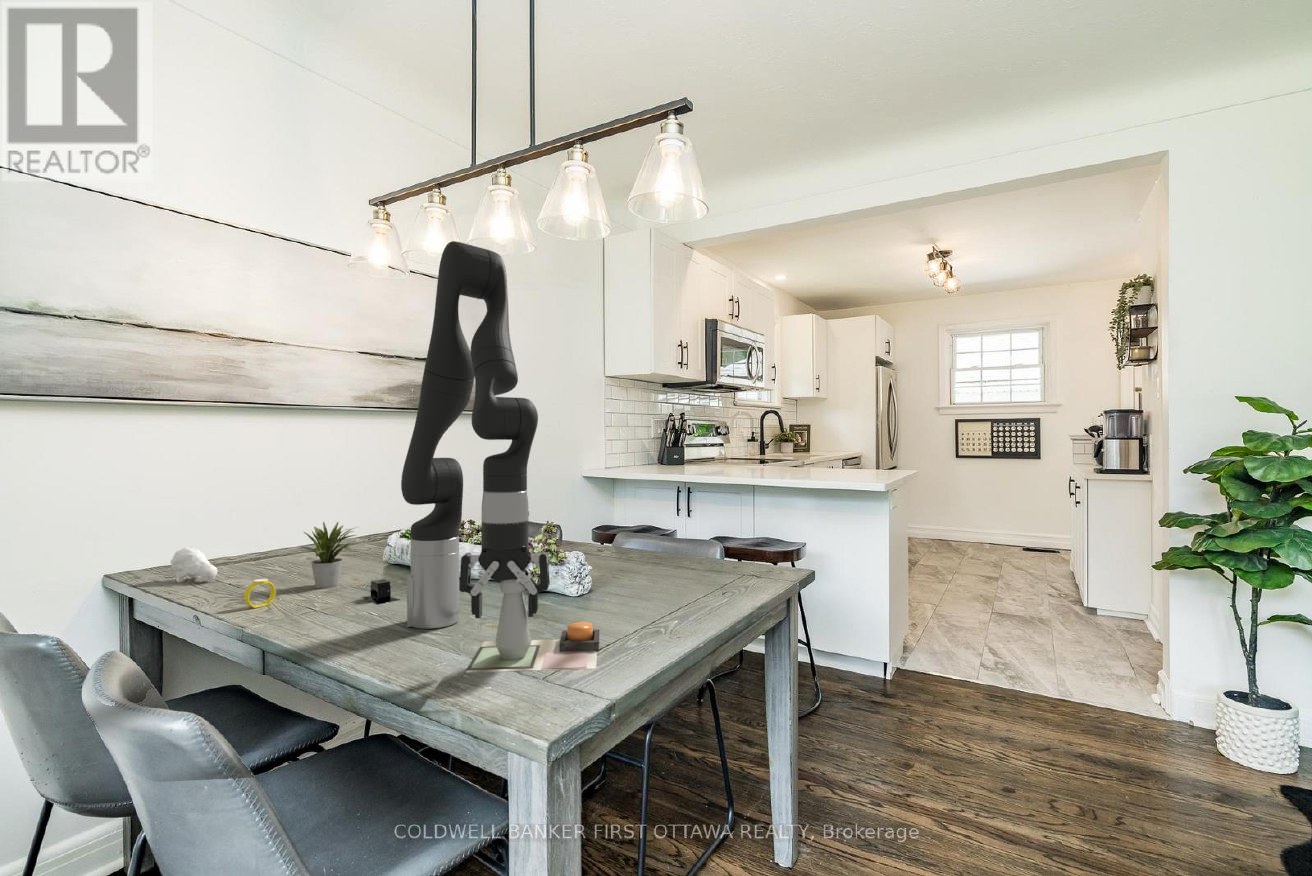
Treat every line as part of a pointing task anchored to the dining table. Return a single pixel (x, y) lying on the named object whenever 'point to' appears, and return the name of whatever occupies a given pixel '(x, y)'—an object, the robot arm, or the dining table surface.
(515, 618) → the salt shaker
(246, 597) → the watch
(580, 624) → the button
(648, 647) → the dining table surface
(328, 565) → the house plant
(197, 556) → the white fluffy lump
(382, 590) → the black short block
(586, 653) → the picture board
